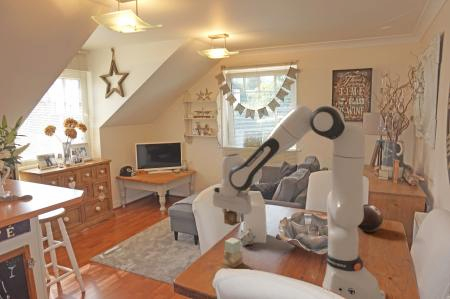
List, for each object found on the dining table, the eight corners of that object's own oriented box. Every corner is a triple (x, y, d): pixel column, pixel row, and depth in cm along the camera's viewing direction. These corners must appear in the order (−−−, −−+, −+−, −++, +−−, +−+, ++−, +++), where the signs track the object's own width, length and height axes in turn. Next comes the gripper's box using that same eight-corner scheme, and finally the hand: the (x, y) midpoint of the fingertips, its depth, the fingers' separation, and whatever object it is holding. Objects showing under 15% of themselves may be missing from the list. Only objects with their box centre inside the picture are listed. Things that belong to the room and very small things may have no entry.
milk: (243, 241, 171) (242, 194, 167) (245, 233, 182) (244, 188, 178) (265, 243, 169) (265, 195, 165) (266, 234, 180) (266, 189, 176)
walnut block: (239, 222, 145) (239, 211, 145) (232, 225, 142) (232, 214, 141) (231, 220, 149) (231, 209, 148) (224, 223, 145) (224, 212, 144)
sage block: (240, 250, 147) (240, 240, 146) (233, 254, 144) (233, 243, 143) (232, 247, 151) (232, 237, 150) (225, 251, 147) (224, 240, 146)
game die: (249, 253, 166) (254, 243, 159) (234, 246, 167) (238, 236, 160) (254, 239, 172) (259, 229, 165) (239, 232, 173) (243, 222, 166)
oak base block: (242, 262, 148) (242, 250, 147) (233, 267, 144) (233, 255, 143) (232, 258, 152) (232, 246, 151) (223, 263, 148) (223, 251, 147)
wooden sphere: (380, 238, 171) (381, 211, 169) (350, 232, 179) (351, 206, 177) (383, 228, 184) (384, 203, 182) (355, 224, 192) (356, 199, 190)
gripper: (254, 192, 139) (254, 222, 140) (219, 184, 152) (220, 212, 154) (245, 195, 134) (245, 227, 136) (210, 187, 148) (211, 216, 149)
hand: (232, 219), depth 145 cm, fingers closed on walnut block, 5 cm apart
